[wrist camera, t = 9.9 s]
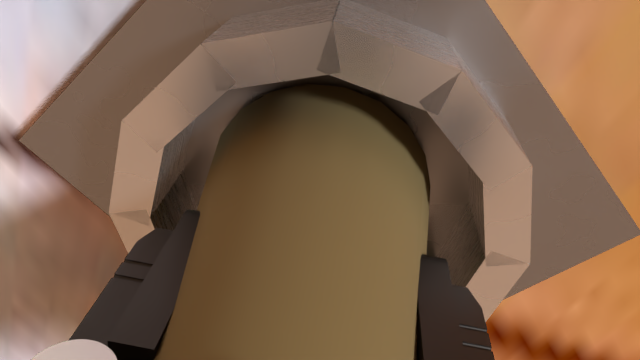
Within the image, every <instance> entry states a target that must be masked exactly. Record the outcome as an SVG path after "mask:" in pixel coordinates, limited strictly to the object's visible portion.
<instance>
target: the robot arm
mask: <svg viewBox="0 0 640 360" xmlns="http://www.w3.org/2000/svg"><path fill="white" fill-rule="evenodd" d="M199 217H200V211H196V210H191V209H187V210H186V211H185V212H184V214H183V215H182V217H181V219H180V220H179V222H178V224H177V225H176V227H175V229H174V230H168V229H162V228H156V229H154V230H153V231H151V232H150V233H148V234H147V235H145V236H144V237H142V238H141V239H139V240H138V241H137V242H136V243H135V245H134V246H133V248H132V249H131V251H130V252H129V254H128V255H127V256H126V258H125V261H124V263H123V262H122V264H121V265H120V267H119V268H118V270H117V271H116V272H115V275H114V278H111V280H110V281H109V283H108V284H107V286H106V287H105V288H104V290H103V291H102V293H101V294H100V296H99V297H98V299H97V300H96V302H95V303H94V305H93V306H92V307H91V309H90V310H89V312H88V313H87V315H86V316H85V318H84V319H83V321H82V322H81V323H80V325H79V326H78V328H77V329H76V331H75V332H74V334H73V335H72V336H71V338H70V339H69V340H68V341H64V342H61V343H58V344H55V345H52V346H50V347H48V348H46V349H44V350H43V351H41V352H39V353H38V354H37V355H35V356H34V357H33V358H32V359H31V360H154V359H155V356H156V354H157V351H158V348H159V346H160V343H161V341H162V338H163V336H164V333H165V331H166V328H167V326H168V323H169V320H170V318H171V315H172V313H173V310H174V308H175V304H176V300H177V297H178V293H179V289H180V286H181V282H182V279H183V275H184V271H185V268H186V264H187V260H188V257H189V253H190V250H191V246H192V242H193V239H194V235H195V231H196V228H197V224H198V221H199ZM417 360H495V359H494V355H493V352H491V343H490V339H489V335H488V333H487V327H486V323H485V319H484V315H483V310H482V307H481V306H480V304H479V303H478V302H477V300H476V299H475V297H474V296H473V295H472V293H471V292H470V290H469V289H468V288H467V287H462V286H457V285H452V283H451V278H450V272H449V267H448V262H447V260H446V259H444V258H439V257H434V256H429V255H424V254H422V255H421V259H420V271H419V283H418V306H417Z"/></svg>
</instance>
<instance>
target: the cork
mask: <svg viewBox="0 0 640 360" xmlns="http://www.w3.org/2000/svg"><path fill="white" fill-rule="evenodd" d="M430 187H431V185H430V179H429V173H428V167H427V161H426V155H425V153H424V152H423V150H422V148H421V146H420V145H419V143H418V141H417V140H416V138H415V136H414V134H413V133H412V131H411V129H410V127H409V126H408V125H407V124H406V123H405V122H404V121H402V120H401V119H400V118H399V117H398V116H397V115H395V114H394V113H393V112H392V111H391V110H390V109H388V108H387V107H386V106H385V105H384V104H383V103H381V102H380V101H377V100H375V99H372V98H370V97H368V96H365V95H363V94H360V93H358V92H356V91H353V90H351V89H348V88H346V87H337V86H326V85H315V84H304V85H299V86H294V87H290V88H285V89H281V90H276V91H271V92H269V93H268V94H266V95H264V96H263V97H261V98H259V99H258V100H256V101H254V102H253V103H251V104H249V105H248V106H246V107H244V108H243V109H241V110H240V111H239V112H238V114H237V115H236V116H235V117H234V119H233V120H232V121H231V122H230V124H229V125H228V126H227V127H226V129H225V130H224V131H223V132H222V134H221V135H220V138H219V141H218V144H217V147H216V151H215V154H214V157H213V160H212V163H211V166H210V169H209V173H208V176H207V179H206V182H205V185H204V189H203V192H202V195H201V198H200V201H199V205H198V208H197V211H200V217H199V221H198V224H197V228H196V231H195V235H194V239H193V242H192V246H191V250H190V253H189V257H188V260H187V264H186V268H185V271H184V275H183V279H182V282H181V286H180V289H179V293H178V297H177V300H176V304H175V308H174V310H173V313H172V315H171V318H170V320H169V323H168V326H167V328H166V331H165V333H164V336H163V338H162V341H161V343H160V346H159V348H158V351H157V354H156V356H155V359H154V360H417V306H418V283H419V271H420V259H421V255H422V254H424V255H426V254H427V237H428V220H429V204H430Z"/></svg>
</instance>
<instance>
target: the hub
mask: <svg viewBox="0 0 640 360" xmlns="http://www.w3.org/2000/svg"><path fill="white" fill-rule="evenodd" d="M304 84H315V85H326V86H337V87H346V88H348V89H351V90H353V91H356V92H358V93H360V94H363V95H365V96H368V97H370V98H372V99H375V100H377V101H380V102H381V103H383V104H384V105H385V106H386V107H387V108H388V109H390V110H391V111H392V112H393V113H394V114H395V115H397V116H398V117H399V118H400V119H401V120H402V121H404V122H405V123H406V124H407V125H408V126H409V127H410V129H411V131H412V133H413V134H414V136H415V138H416V140H417V141H418V143H419V145H420V146H421V148H422V150H423V152H424V153H425V155H426V161H427V167H428V173H429V179H430V185H431V187H430V204H429V220H428V237H427V254H426V255H429V256H434V257H439V258H444V259H446V260H447V262H448V267H449V272H450V278H451V283H452V285H457V286H462V287H467V288H468V289H469V290H470V292H471V293H472V295H473V296H474V297H475V299H476V300H477V302H478V303H479V304H480V306H481V307H482V310H483V315H484V319H485V322H486V321H487V320H488V318H489V317H490V316H491V314H492V313H493V312H494V311H495V309H496V308H497V307H498V305H499V304H500V303H501V301H502V300H504V299H506V298H508V297H510V296H512V295H514V294H516V293H518V292H520V291H523V290H525V289H527V288H529V287H531V286H533V285H535V284H537V283H539V282H541V281H544V280H546V279H548V278H550V277H552V276H554V275H556V274H558V273H560V272H563V271H565V270H567V269H569V268H571V267H573V266H575V265H577V264H579V263H581V262H584V261H586V260H588V259H590V258H592V257H594V256H596V255H598V254H600V253H603V252H605V251H607V250H609V249H611V248H613V247H615V246H617V245H619V244H622V243H624V242H626V241H628V240H630V239H632V238H634V237H636V236H638V235H640V230H639V228H638V227H637V225H636V224H635V222H634V221H633V219H632V218H631V216H630V215H629V213H628V212H627V210H626V209H625V207H624V206H623V204H622V203H621V201H620V200H619V198H618V197H617V195H616V194H615V192H614V191H613V190H612V188H611V187H610V185H609V184H608V182H607V181H606V179H605V178H604V176H603V175H602V173H601V172H600V170H599V169H598V167H597V166H596V164H595V163H594V161H593V160H592V158H591V157H590V155H589V154H588V152H587V151H586V149H585V148H584V146H583V145H582V143H581V142H580V140H579V139H578V138H577V136H576V135H575V133H574V132H573V130H572V129H571V127H570V126H569V124H568V123H567V121H566V120H565V118H564V117H563V115H562V114H561V112H560V111H559V109H558V108H557V106H556V105H555V103H554V102H553V100H552V99H551V97H550V96H549V94H548V93H547V91H546V90H545V88H544V87H543V86H542V84H541V83H540V81H539V80H538V78H537V77H536V75H535V74H534V72H533V71H532V69H531V68H530V66H529V65H528V63H527V62H526V60H525V59H524V57H523V56H522V54H521V53H520V51H519V50H518V48H517V47H516V45H515V44H514V42H513V41H512V39H511V38H510V37H509V35H508V34H507V32H506V31H505V29H504V28H503V26H502V25H501V23H500V22H499V20H498V19H497V17H496V16H495V14H494V13H493V11H492V10H491V8H490V7H489V5H488V4H487V2H486V1H485V0H146V1H145V2H144V3H143V4H142V5H141V7H140V8H139V9H138V10H137V11H136V12H135V13H134V14H133V15H132V16H131V18H130V19H129V20H128V21H127V22H126V23H125V24H124V25H123V26H122V27H121V29H120V30H119V31H118V32H117V33H116V34H115V35H114V36H113V37H112V38H111V40H110V41H109V42H108V43H107V44H106V45H105V46H104V47H103V48H102V49H101V51H100V52H99V53H98V54H97V55H96V56H95V57H94V58H93V59H92V60H91V62H90V63H89V64H88V65H87V66H86V67H85V68H84V69H83V70H82V71H81V73H80V74H79V75H78V76H77V77H76V78H75V79H74V80H73V81H72V82H71V83H70V85H69V86H68V87H67V88H66V89H65V90H64V91H63V92H62V93H61V94H60V96H59V97H58V98H57V99H56V100H55V101H54V102H53V103H52V104H51V105H50V107H49V108H48V109H47V110H46V111H45V112H44V113H43V114H42V115H41V116H40V118H39V119H38V120H37V121H36V122H35V123H34V124H33V125H32V126H31V127H30V129H29V130H28V131H27V132H26V133H25V134H24V135H23V136H22V137H21V138H20V140H19V141H20V142H21V143H22V144H24V145H25V146H26V147H27V148H28V149H30V150H31V151H32V152H33V153H34V154H36V155H37V156H38V157H39V158H40V159H42V160H43V161H44V162H45V163H46V164H48V165H49V166H50V167H51V168H52V169H54V170H55V171H56V172H57V173H58V174H60V175H61V176H62V177H63V178H64V179H66V180H67V181H68V182H69V183H70V184H72V185H73V186H74V187H75V188H76V189H78V190H79V191H80V192H81V193H82V194H83V195H85V196H86V197H87V198H88V199H89V200H91V201H92V202H93V203H94V204H95V205H97V206H98V207H99V208H100V209H101V210H103V211H104V212H105V213H106V214H107V215H109V216H110V217H111V219H112V221H113V223H114V225H115V227H116V229H117V232H118V234H119V236H120V238H121V240H122V242H123V244H124V246H125V248H126V250H127V252H128V254H129V252H130V251H131V249H132V248H133V246H134V245H135V243H136V242H137V241H138V240H139V239H141V238H142V237H144V236H145V235H147V234H148V233H150V232H151V231H153V230H154V229H156V228H162V229H168V230H174V229H175V227H176V225H177V224H178V222H179V220H180V219H181V217H182V215H183V214H184V212H185V211H186V210H187V209H191V210H196V211H197V208H198V205H199V201H200V198H201V195H202V192H203V189H204V185H205V182H206V179H207V176H208V173H209V169H210V166H211V163H212V160H213V157H214V154H215V151H216V147H217V144H218V141H219V138H220V135H221V134H222V132H223V131H224V130H225V129H226V127H227V126H228V125H229V124H230V122H231V121H232V120H233V119H234V117H235V116H236V115H237V114H238V112H239V111H240V110H241V109H243V108H244V107H246V106H248V105H249V104H251V103H253V102H254V101H256V100H258V99H259V98H261V97H263V96H264V95H266V94H268V93H269V92H271V91H276V90H281V89H285V88H290V87H294V86H299V85H304Z"/></svg>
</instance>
